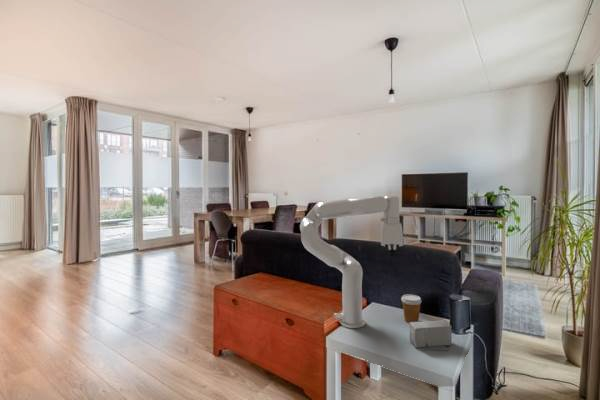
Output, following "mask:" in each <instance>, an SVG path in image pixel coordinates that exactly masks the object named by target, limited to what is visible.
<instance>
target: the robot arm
mask: <svg viewBox="0 0 600 400" xmlns="http://www.w3.org/2000/svg"><path fill="white" fill-rule="evenodd" d="M382 212H383V217H382V218H380V222H383V223H382V224H381V231H380V238H381V241H380V245H381V246H382V247H385V248H387V250H388V256H389V257H390V259H395V257H396V250H397V249H398V248H400V247H403V246H404V233H403V226H402V223H401V222H400V197H399V196H397V195H386V196H382V195H372V196H370V197H366V198H345V199H344V198H343V199H336V200H331V201H319V202H317V203H315V205H314V206H313V207H312V209H311V210H309V212H308V213H307V214H306V216H304V217H303V219H302V220H301V222H300V224H299V230H300V240H301V243H302V245H303V247H304V249H305V250H306V251H307V252H309V254H312V255H313V256H315V258H318V259H319V260H320V261H322V262H324V263H325V264H326V265H327V266H329V267H331V268H332V267H333V268H335V269H337V270H339V271H340V273H342V279H341V280H342V283H341V292H342V293H341V295H342V299H341V300H342V301H341V303H342V311H341V312H340V313H338V312H337V313H336V312H334V313H333V318H335V319H336V320H339V323H340V325H341V326H343V327H345V328H348V329H360V328H363V327H364V326H366V319H365V318H364V317H363V292H362V291H363V289H362V285H363V275H364V274H363V273H364V271H363V267H362V265H361V263H360V262H359V261H358V260H356V259H355V258H354V257H353V256H352V255H350V254H349V253H347V252H345V251H344V250H343V249H341V248H339V247H338V246H336V245H335V244H329V243H327V242H326V241H325V240H323V238H321V237H320V236H319V227H320V225H321V224H322V223H323V222H324V221H325V220H329V219H330V220H331V219H338V218H346V217H351V216H352V217H355V216H361V215H363V216H364V215H371V214H372V215H373V214H377V213H378V214H379V213H382ZM392 245H393V246H392ZM391 246H392V247H391Z"/></svg>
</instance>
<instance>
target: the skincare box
mask: <svg viewBox="0 0 600 400" xmlns="http://www.w3.org/2000/svg"><path fill="white" fill-rule="evenodd" d="M409 341H410V343H412V345H413V346H414V347H415V348H417V347H429V346H444V345H446V346H452V345H453V343H452V325H450V324H449V323H448V322H446V321H445V320H443V319H441V320H428V321H426V320H425V321H418V322H410V323H409Z"/></svg>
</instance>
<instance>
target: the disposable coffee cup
mask: <svg viewBox="0 0 600 400" xmlns="http://www.w3.org/2000/svg"><path fill="white" fill-rule="evenodd" d="M400 300H401V303H402V309H403V316H404V321H405V323H408V324H410V322H419V319H420V311H421V303H422V301H423V300H422V299H421V296H419V295H417V294H410V293H409V294H403V295H402V296H401V298H400Z"/></svg>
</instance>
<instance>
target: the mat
mask: <svg viewBox="0 0 600 400" xmlns="http://www.w3.org/2000/svg"><path fill="white" fill-rule="evenodd" d="M416 349H417V350H422V351H438V352H442V351H443V352H449V348H448V347H447V345H444V346H429V347H416Z"/></svg>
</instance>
